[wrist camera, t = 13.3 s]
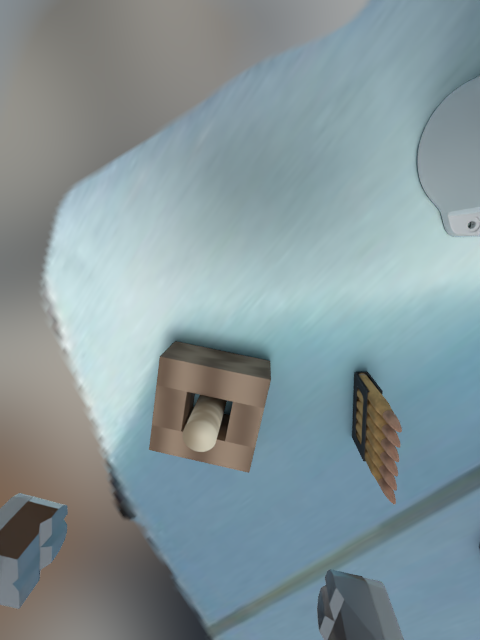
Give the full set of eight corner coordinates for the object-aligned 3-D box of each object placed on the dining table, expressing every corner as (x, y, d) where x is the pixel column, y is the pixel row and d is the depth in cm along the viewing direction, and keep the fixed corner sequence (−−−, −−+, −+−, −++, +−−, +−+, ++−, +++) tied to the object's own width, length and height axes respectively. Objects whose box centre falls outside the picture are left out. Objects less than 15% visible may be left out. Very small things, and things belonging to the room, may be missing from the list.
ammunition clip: (354, 371, 39) (391, 423, 27) (368, 371, 39) (411, 423, 27) (352, 437, 41) (384, 510, 30) (365, 437, 41) (403, 511, 30)
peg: (230, 384, 41) (219, 426, 32) (225, 408, 42) (213, 455, 33) (204, 379, 41) (184, 418, 32) (200, 402, 42) (180, 447, 33)
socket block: (270, 360, 40) (270, 379, 34) (251, 442, 43) (249, 472, 37) (175, 341, 40) (159, 356, 35) (164, 423, 44) (149, 449, 38)
